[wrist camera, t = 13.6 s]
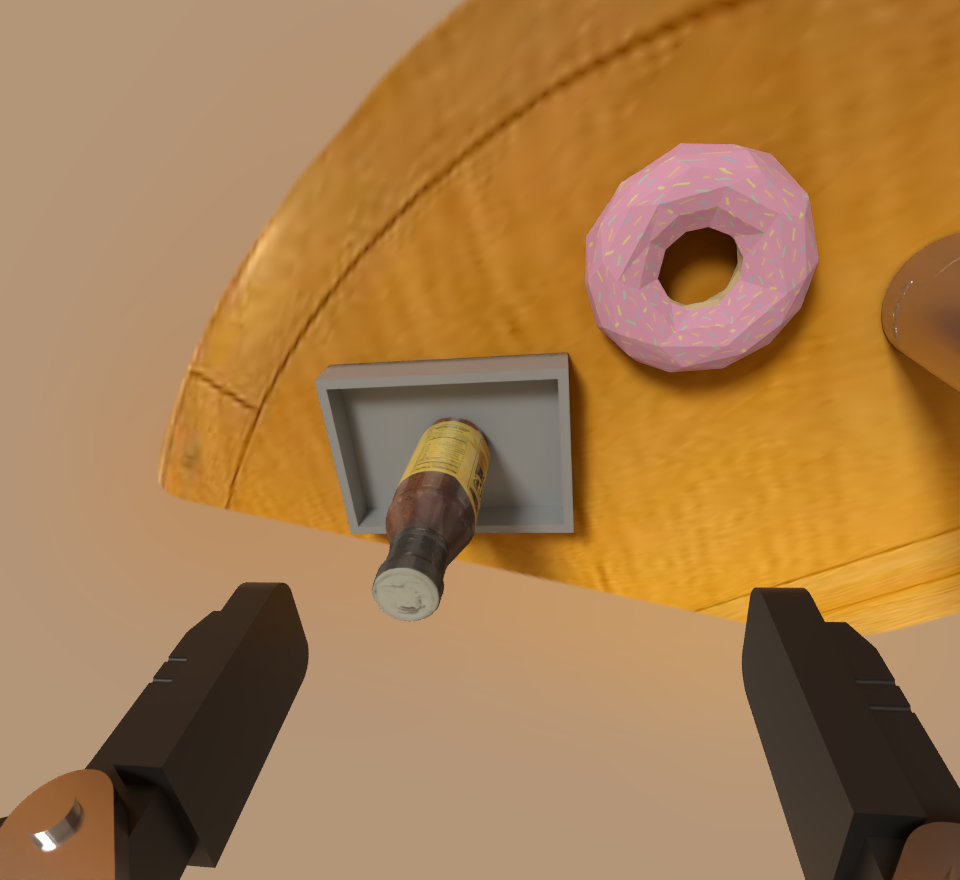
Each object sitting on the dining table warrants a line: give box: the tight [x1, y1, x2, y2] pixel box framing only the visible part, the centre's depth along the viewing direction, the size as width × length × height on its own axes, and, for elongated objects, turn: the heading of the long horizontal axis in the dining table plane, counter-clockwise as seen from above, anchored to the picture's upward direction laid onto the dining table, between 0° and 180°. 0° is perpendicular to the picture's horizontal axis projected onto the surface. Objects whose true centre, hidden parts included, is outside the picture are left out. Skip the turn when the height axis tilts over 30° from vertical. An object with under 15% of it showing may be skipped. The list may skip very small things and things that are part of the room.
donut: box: [585, 143, 819, 372], centre depth 41 cm, size 16×15×5 cm
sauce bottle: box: [372, 417, 490, 621], centre depth 43 cm, size 7×6×20 cm
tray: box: [315, 353, 574, 534], centre depth 51 cm, size 20×15×4 cm
